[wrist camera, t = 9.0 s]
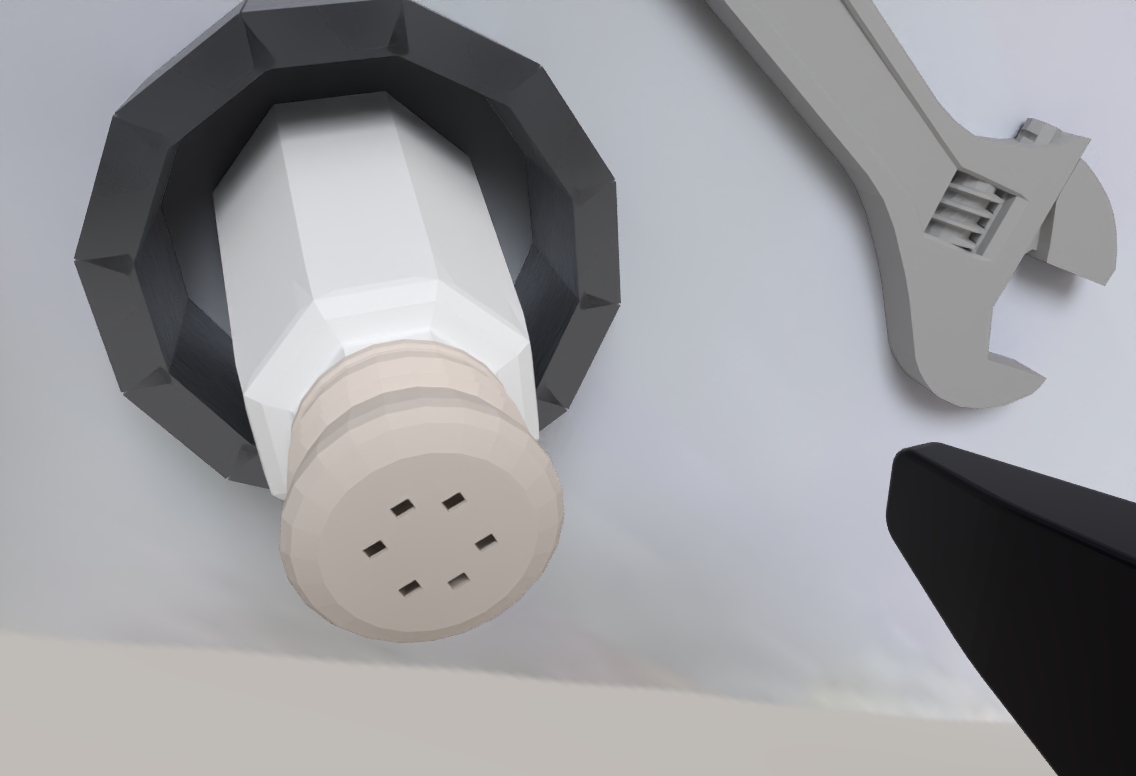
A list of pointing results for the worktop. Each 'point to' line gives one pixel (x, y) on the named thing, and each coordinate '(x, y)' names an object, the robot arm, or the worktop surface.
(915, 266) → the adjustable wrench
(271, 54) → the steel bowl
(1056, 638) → the robot arm
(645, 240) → the worktop surface
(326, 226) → the salt shaker
